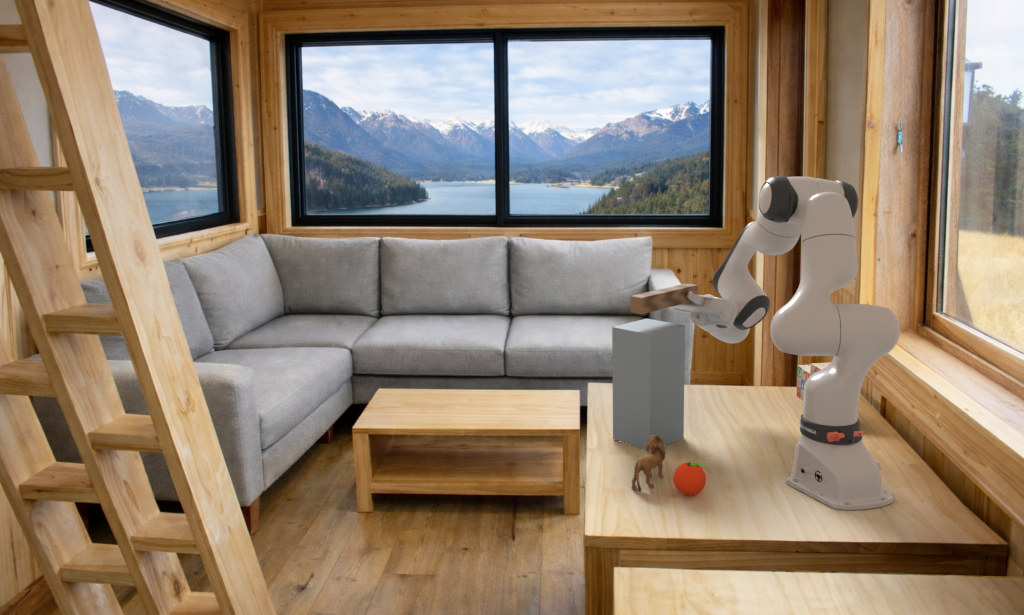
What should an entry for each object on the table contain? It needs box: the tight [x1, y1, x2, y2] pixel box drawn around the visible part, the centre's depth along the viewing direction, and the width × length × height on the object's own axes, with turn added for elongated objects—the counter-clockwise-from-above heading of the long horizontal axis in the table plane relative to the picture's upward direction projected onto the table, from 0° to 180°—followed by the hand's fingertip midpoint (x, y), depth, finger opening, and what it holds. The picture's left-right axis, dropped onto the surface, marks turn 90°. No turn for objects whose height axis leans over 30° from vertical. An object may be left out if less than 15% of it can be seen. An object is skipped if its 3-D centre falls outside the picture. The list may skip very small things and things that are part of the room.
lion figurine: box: [631, 435, 666, 493], centre depth 186 cm, size 15×5×9 cm, turn 157°
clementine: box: [672, 461, 711, 496], centre depth 179 cm, size 8×7×7 cm
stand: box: [611, 318, 686, 451], centre depth 210 cm, size 13×12×29 cm
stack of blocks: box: [796, 361, 832, 401], centre depth 232 cm, size 21×6×12 cm, turn 3°
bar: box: [629, 283, 699, 315], centre depth 210 cm, size 22×4×4 cm, turn 131°
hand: (679, 293), depth 213 cm, fingers closed on bar, 3 cm apart
